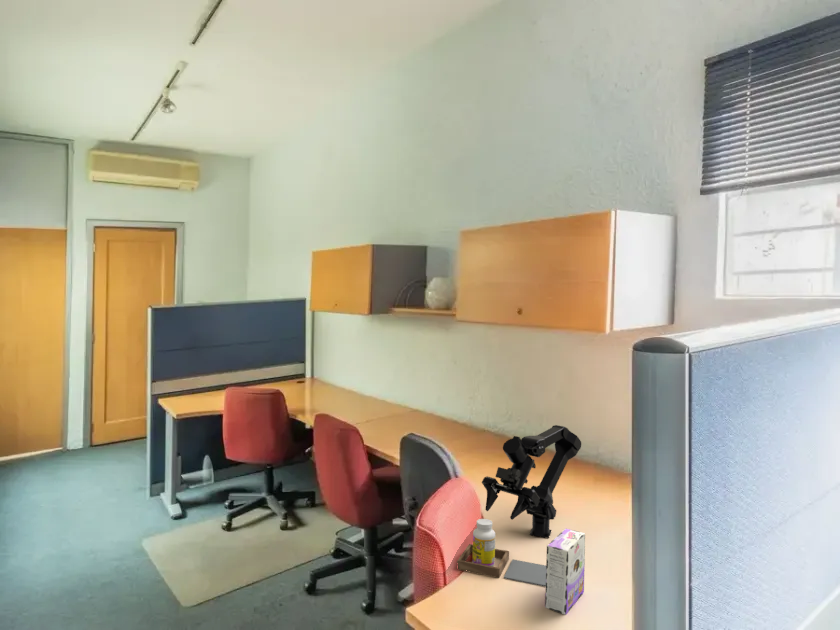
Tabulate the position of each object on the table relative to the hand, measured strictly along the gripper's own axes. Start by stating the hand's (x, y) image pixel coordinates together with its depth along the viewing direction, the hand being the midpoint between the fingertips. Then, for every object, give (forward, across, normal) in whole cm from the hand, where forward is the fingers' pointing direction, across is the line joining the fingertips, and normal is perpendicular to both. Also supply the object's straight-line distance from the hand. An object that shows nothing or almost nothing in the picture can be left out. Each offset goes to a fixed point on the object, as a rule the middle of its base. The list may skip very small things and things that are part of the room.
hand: (498, 514), depth 171 cm
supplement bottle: (+14, 0, +4) cm, 15 cm away
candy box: (+15, +27, +4) cm, 31 cm away
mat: (+11, +12, +8) cm, 18 cm away
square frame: (+14, 0, +4) cm, 15 cm away
